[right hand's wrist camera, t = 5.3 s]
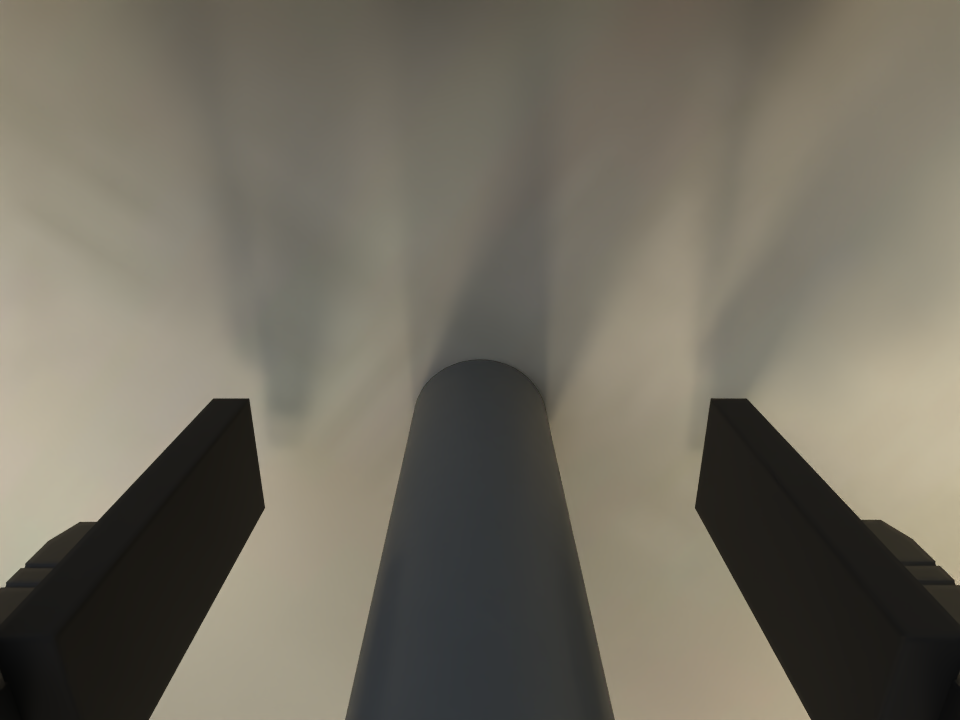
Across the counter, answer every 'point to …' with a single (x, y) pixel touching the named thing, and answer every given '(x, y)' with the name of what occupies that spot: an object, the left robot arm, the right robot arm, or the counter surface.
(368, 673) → the peg
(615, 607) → the counter surface
